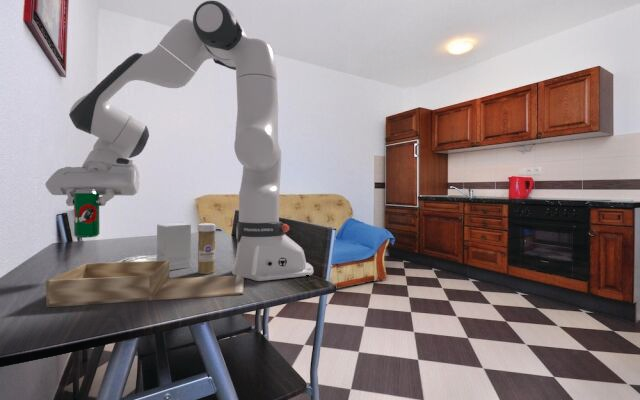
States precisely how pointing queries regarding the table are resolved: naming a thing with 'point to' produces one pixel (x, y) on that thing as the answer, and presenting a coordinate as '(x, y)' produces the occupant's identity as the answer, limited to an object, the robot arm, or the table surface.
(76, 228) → the soda can
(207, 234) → the sprinkles bottle
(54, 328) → the table surface
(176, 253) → the supplement box
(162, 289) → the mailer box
